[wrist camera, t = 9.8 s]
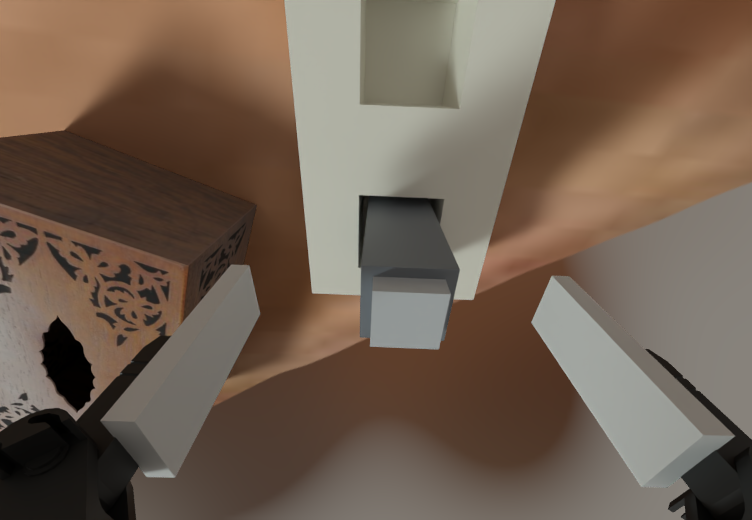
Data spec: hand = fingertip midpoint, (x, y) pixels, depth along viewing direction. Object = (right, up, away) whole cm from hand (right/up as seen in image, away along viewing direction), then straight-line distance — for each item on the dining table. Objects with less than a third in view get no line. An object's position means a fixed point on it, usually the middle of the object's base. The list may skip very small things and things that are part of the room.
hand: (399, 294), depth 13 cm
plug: (0, +6, +10) cm, 12 cm away
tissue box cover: (-23, -1, +16) cm, 28 cm away
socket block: (+1, +10, +8) cm, 13 cm away
